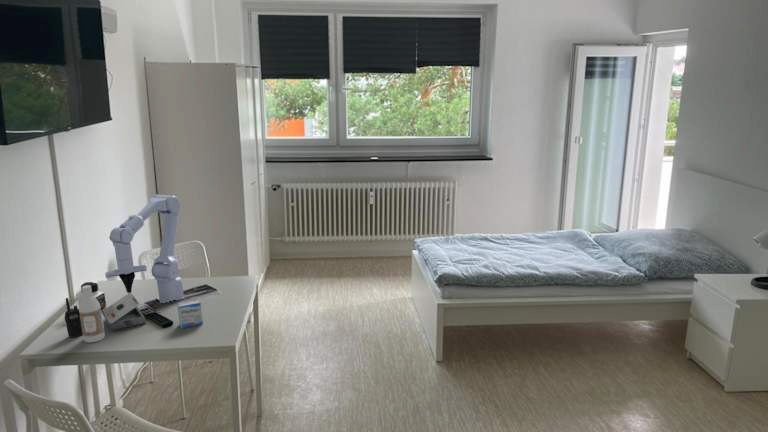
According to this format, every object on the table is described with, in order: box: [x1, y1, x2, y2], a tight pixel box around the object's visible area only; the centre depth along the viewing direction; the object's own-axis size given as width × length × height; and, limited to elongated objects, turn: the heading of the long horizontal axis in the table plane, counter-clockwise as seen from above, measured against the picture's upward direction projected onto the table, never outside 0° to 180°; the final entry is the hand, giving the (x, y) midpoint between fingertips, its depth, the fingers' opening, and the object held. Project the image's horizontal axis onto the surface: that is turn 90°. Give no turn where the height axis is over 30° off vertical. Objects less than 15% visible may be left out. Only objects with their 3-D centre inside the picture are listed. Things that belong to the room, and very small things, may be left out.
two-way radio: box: [64, 297, 83, 339], centre depth 214 cm, size 6×4×15 cm
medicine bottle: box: [77, 281, 108, 312], centre depth 237 cm, size 7×7×12 cm
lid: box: [101, 291, 141, 325], centre depth 224 cm, size 12×14×2 cm
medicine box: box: [176, 299, 204, 329], centre depth 222 cm, size 8×4×9 cm, turn 117°
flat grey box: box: [103, 306, 147, 333], centre depth 226 cm, size 12×19×3 cm, turn 34°
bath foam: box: [78, 285, 106, 344], centre depth 210 cm, size 7×7×20 cm
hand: (129, 291), depth 228 cm, fingers closed
